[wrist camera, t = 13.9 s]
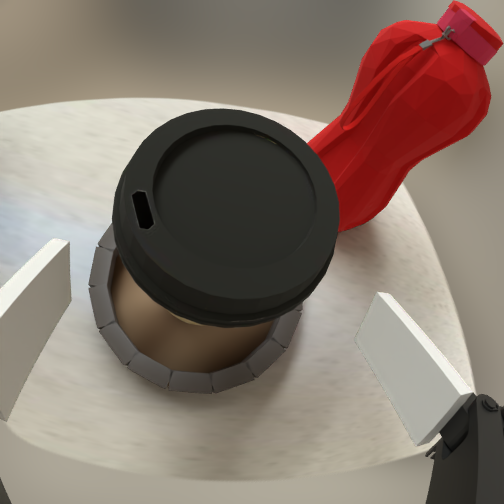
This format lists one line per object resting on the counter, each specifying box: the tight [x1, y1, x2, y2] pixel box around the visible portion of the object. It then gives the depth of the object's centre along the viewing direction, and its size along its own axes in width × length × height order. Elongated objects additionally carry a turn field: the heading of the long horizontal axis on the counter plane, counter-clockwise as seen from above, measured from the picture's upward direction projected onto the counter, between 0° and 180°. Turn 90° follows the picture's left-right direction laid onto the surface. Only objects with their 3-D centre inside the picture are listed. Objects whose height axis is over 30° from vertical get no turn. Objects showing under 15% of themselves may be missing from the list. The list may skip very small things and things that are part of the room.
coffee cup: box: [112, 109, 340, 328], centre depth 18 cm, size 10×10×15 cm
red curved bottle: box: [307, 1, 503, 232], centre depth 21 cm, size 9×11×25 cm
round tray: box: [88, 223, 302, 394], centre depth 24 cm, size 17×17×2 cm
